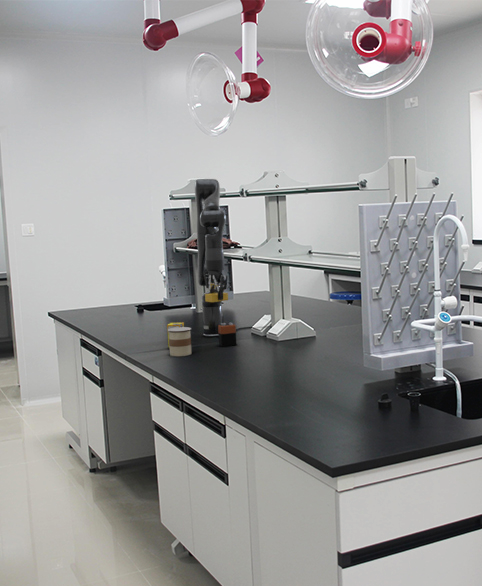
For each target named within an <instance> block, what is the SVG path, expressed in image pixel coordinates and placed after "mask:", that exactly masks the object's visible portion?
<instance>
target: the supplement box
mask: <svg viewBox="0 0 482 586" xmlns="http://www.w3.org/2000/svg"><path fill="white" fill-rule="evenodd" d="M177 327H185V322H184V321H183V322H169V323H168V324H166V331H167V346H168V349H169V332H168V329H170V328H177Z"/></svg>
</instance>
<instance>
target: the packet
mask: <svg viewBox="0 0 482 586" xmlns="http://www.w3.org/2000/svg"><path fill="white" fill-rule="evenodd" d="M205 301H207V302H218V301H222V302H224V301H229V293H228V292H223V300H218V293H211V294H205Z"/></svg>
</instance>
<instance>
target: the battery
mask: <svg viewBox="0 0 482 586" xmlns="http://www.w3.org/2000/svg"><path fill="white" fill-rule="evenodd" d="M221 324H222V325H219V326H218V330H219V336H218V346H221V347H222V348H223V347H231V346H236V345H237V331H236V329H237V328H236V324H234V323H233V322H229V323H226V322H224V323H221Z"/></svg>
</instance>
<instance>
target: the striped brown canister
mask: <svg viewBox="0 0 482 586" xmlns="http://www.w3.org/2000/svg"><path fill="white" fill-rule="evenodd" d="M168 332H169V348H168V350H169V356H171V357H186V356H190V355H192V351H193V350H192V334H191V333H192V327H188V326H184V327H177V328H170V329H168Z"/></svg>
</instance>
